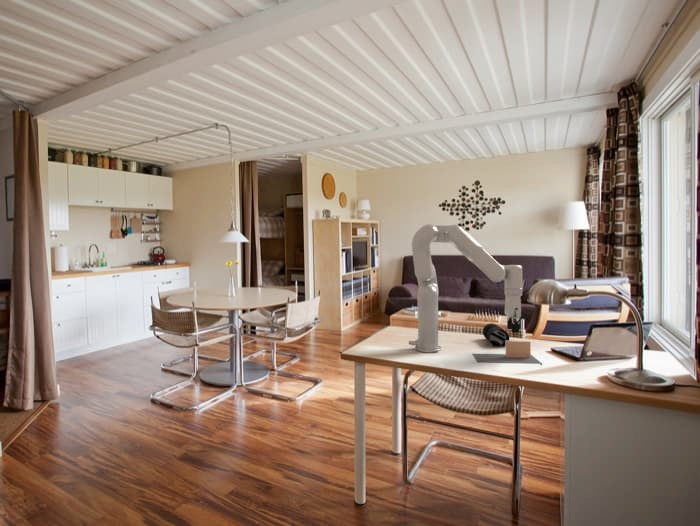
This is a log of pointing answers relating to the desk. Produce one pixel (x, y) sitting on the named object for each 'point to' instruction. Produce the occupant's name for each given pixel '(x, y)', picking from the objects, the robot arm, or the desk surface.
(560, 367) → the desk surface
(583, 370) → the desk surface
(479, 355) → the mat
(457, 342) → the desk surface
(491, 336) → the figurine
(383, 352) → the desk surface
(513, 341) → the block
